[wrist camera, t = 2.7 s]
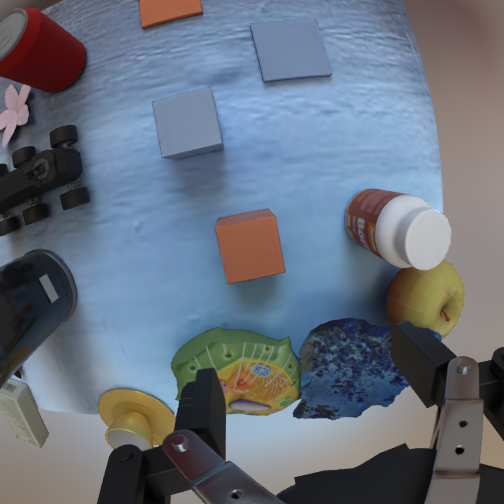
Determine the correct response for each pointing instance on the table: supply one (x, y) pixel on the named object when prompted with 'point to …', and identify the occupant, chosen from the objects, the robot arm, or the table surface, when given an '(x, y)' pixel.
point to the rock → (347, 370)
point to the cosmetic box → (22, 413)
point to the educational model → (243, 369)
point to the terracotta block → (250, 245)
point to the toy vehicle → (41, 178)
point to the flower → (14, 111)
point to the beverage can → (38, 51)
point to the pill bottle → (398, 228)
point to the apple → (427, 298)
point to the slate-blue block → (187, 124)
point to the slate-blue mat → (290, 49)
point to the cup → (135, 419)
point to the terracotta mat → (167, 10)
